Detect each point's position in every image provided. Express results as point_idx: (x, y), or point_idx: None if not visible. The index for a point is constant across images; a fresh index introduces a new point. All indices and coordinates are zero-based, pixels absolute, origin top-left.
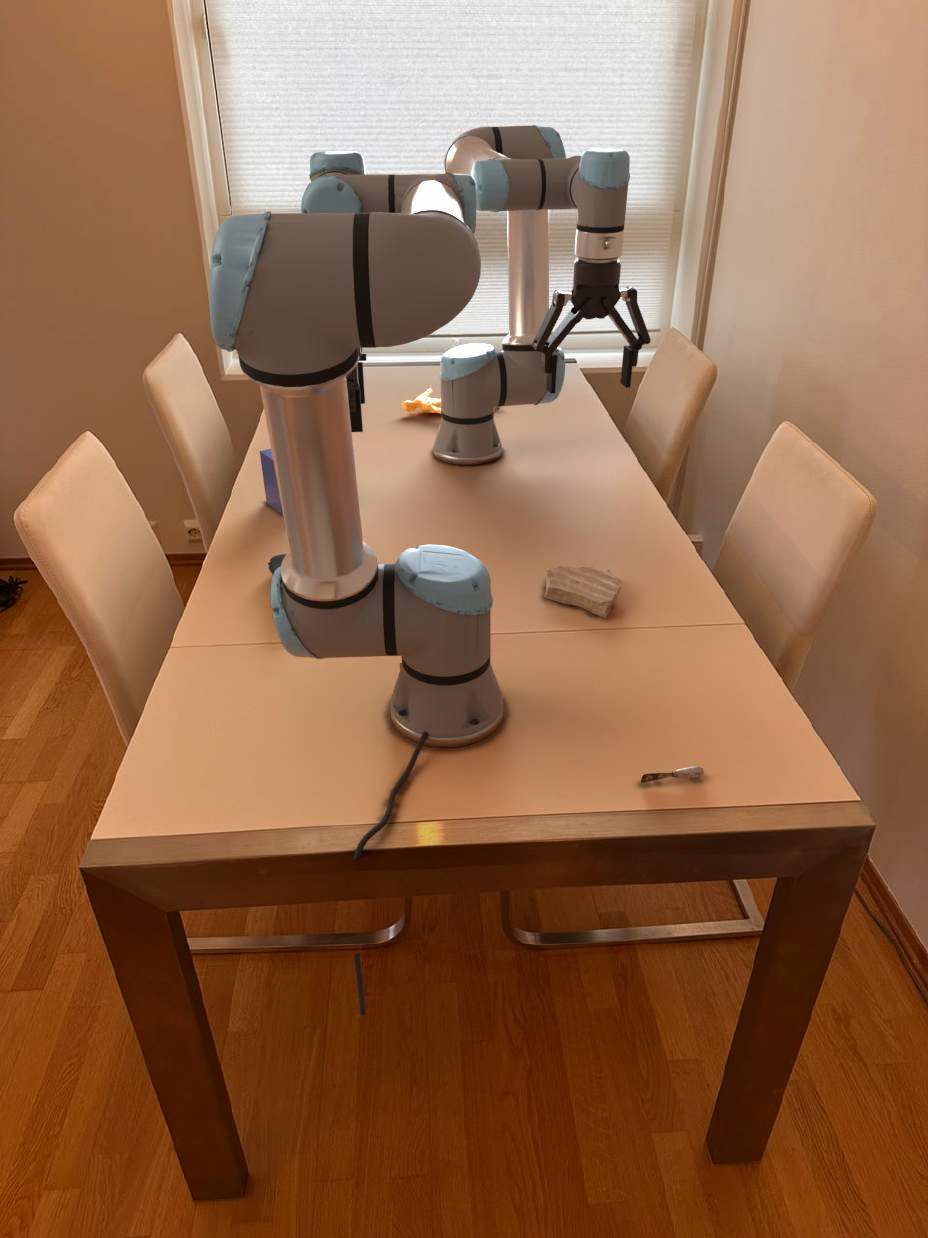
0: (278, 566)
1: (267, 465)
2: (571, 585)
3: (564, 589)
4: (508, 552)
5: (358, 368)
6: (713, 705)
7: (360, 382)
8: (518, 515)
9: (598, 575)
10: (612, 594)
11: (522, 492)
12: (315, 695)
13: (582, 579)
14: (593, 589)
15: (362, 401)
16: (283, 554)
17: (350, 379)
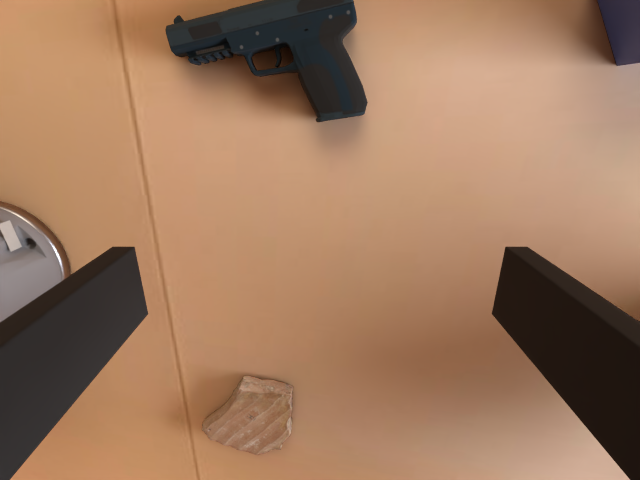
0: (304, 3)
1: None
2: (244, 411)
3: (236, 403)
4: (368, 351)
5: (619, 434)
6: (72, 464)
7: (552, 367)
8: (475, 373)
9: (267, 437)
10: (223, 442)
11: (549, 386)
12: (3, 103)
13: (259, 422)
14: (235, 428)
15: (498, 310)
16: (351, 8)
17: (579, 331)
